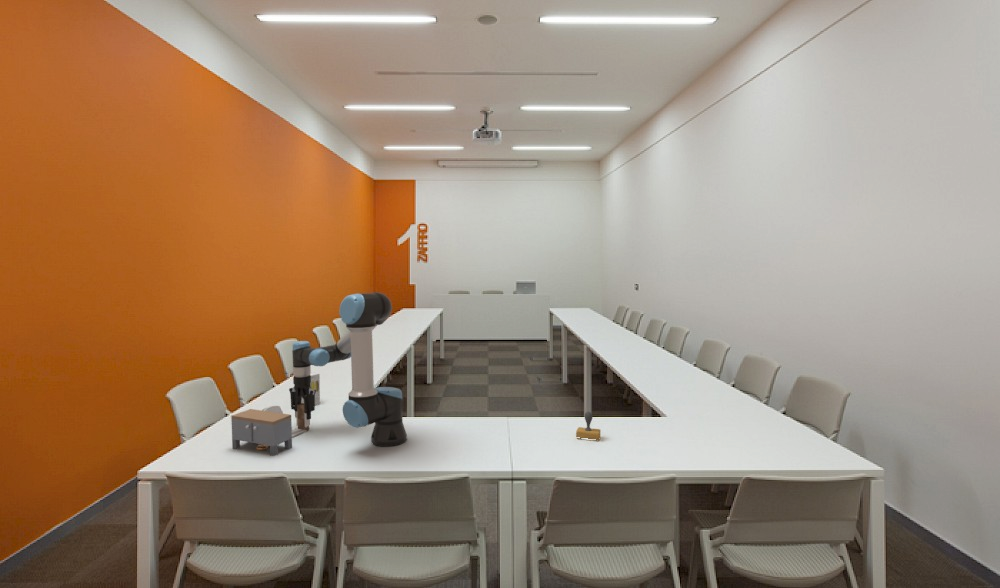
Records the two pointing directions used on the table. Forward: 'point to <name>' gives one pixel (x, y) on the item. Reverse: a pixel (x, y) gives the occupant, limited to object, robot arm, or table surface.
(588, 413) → the rubber stamp
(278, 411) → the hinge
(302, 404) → the wooden block bookend
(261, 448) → the copper disc
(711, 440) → the table surface
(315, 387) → the supplement box
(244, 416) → the low cabinet
